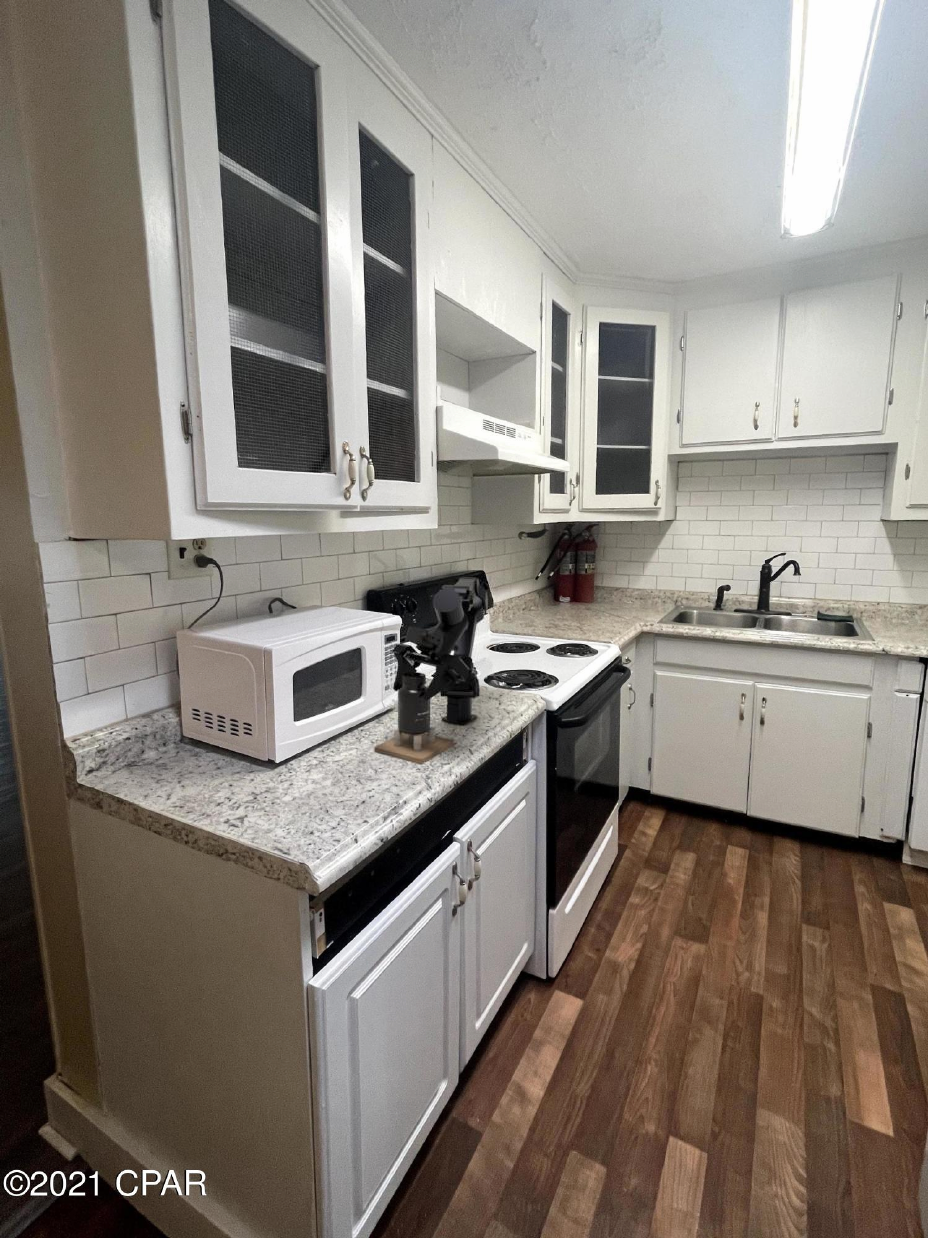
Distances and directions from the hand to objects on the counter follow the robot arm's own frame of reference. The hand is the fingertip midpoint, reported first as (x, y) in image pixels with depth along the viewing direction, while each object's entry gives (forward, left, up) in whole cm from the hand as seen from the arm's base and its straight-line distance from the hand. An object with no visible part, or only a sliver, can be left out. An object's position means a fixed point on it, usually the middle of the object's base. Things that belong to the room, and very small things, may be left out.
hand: (409, 694), depth 122 cm
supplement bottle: (-1, 0, -8) cm, 8 cm away
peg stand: (-1, 0, -12) cm, 12 cm away
